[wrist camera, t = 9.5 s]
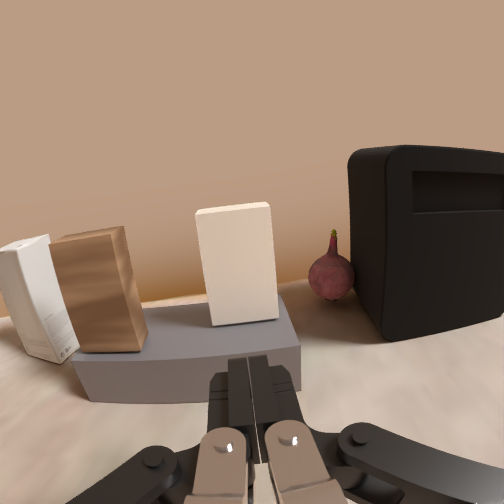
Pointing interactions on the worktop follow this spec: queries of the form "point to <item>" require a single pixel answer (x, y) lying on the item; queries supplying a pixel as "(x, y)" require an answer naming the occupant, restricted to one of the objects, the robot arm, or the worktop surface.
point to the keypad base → (185, 356)
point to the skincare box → (36, 299)
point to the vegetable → (331, 273)
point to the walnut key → (100, 290)
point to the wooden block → (238, 262)
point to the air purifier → (427, 237)
